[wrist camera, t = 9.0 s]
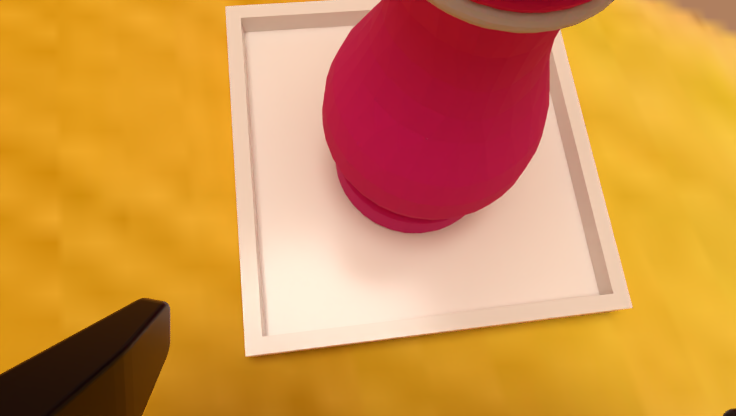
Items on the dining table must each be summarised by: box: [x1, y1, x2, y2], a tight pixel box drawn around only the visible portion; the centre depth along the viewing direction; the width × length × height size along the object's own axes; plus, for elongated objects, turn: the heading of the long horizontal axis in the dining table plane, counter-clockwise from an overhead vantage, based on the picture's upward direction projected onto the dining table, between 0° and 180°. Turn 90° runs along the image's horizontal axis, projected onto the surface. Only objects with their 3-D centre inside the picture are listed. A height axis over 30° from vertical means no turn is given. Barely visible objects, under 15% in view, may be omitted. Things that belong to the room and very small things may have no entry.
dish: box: [225, 0, 633, 357], centre depth 21 cm, size 14×14×2 cm
